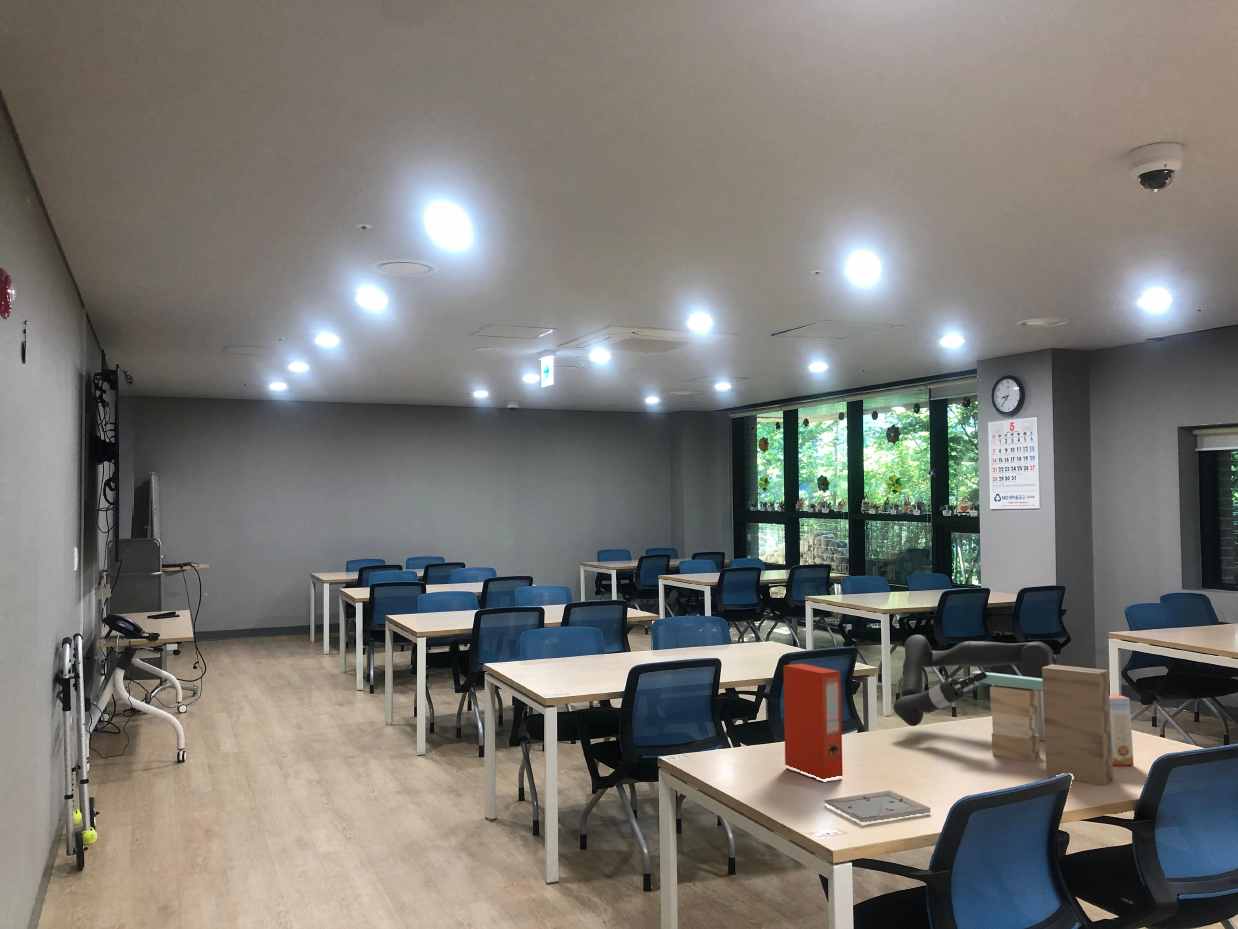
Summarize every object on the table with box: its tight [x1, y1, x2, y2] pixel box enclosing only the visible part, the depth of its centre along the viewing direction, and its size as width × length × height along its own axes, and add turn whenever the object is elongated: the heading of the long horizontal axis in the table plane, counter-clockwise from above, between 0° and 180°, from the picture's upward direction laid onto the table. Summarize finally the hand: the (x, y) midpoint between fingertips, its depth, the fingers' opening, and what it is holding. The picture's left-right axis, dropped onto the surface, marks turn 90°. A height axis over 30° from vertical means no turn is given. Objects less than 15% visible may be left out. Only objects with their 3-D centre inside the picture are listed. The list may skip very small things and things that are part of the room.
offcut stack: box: [989, 684, 1041, 763], centre depth 288 cm, size 8×12×22 cm
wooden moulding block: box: [1042, 664, 1114, 787], centre depth 264 cm, size 8×16×32 cm, turn 45°
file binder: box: [783, 663, 844, 779], centre depth 271 cm, size 8×17×32 cm, turn 29°
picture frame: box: [824, 790, 932, 822], centre depth 235 cm, size 16×2×22 cm
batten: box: [970, 670, 1043, 690], centre depth 289 cm, size 4×26×3 cm, turn 45°
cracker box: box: [1109, 694, 1134, 766], centre depth 278 cm, size 14×6×21 cm, turn 84°
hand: (988, 673), depth 295 cm, fingers closed on batten, 4 cm apart
